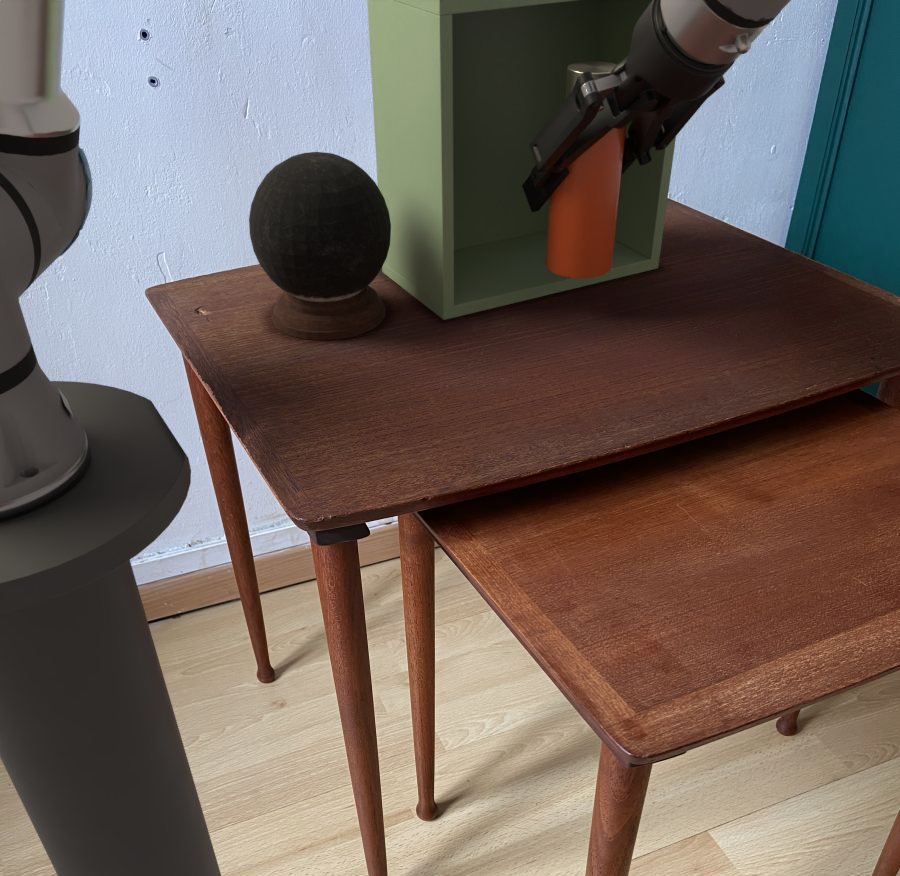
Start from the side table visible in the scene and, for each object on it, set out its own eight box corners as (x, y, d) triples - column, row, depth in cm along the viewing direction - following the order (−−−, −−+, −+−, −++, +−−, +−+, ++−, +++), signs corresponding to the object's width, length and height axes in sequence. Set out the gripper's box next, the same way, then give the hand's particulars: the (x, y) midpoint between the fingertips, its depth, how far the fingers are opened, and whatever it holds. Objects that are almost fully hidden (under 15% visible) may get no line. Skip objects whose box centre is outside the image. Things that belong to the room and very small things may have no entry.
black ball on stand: (418, 325, 92) (413, 162, 83) (291, 356, 88) (270, 187, 78) (361, 279, 101) (350, 126, 91) (243, 305, 96) (218, 147, 87)
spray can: (552, 280, 90) (565, 76, 79) (540, 255, 95) (550, 60, 83) (618, 276, 90) (640, 73, 79) (603, 251, 95) (621, 57, 84)
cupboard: (658, 268, 103) (698, -29, 85) (443, 320, 93) (439, -2, 76) (584, 229, 112) (606, -46, 95) (382, 272, 103) (365, -25, 85)
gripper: (609, 87, 66) (487, 247, 88) (816, 56, 73) (656, 211, 94) (572, -14, 66) (459, 171, 88) (782, -35, 73) (630, 141, 95)
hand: (562, 192), depth 91 cm, fingers closed on spray can, 6 cm apart
